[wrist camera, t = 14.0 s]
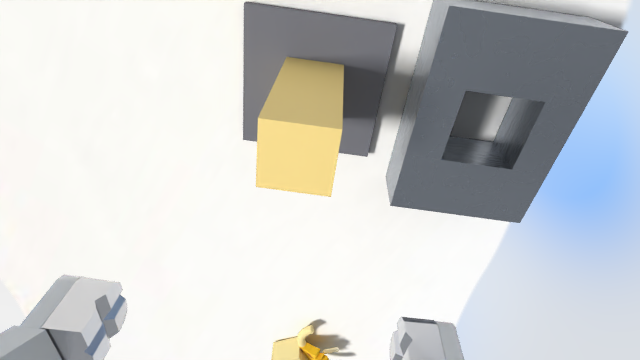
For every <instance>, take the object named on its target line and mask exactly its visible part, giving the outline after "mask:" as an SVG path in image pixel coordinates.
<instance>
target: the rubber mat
mask: <svg viewBox="0 0 640 360" xmlns="http://www.w3.org/2000/svg"><path fill="white" fill-rule="evenodd" d="M396 28H397V24H396V23H390V22H383V21H376V20H369V19H362V18H355V17H348V16H341V15H334V14H327V13H320V12H313V11H306V10H299V9H292V8H285V7H279V6H272V5H265V4H258V3H251V2H245V3H244V97H243V140H249V141H257V132H258V117H259V115H260V112H261V110H262V108H263V106H264V104H265V102H266V100H267V98H268V95H269V93H270V91H271V89H272V87H273V85H274V83H275V81H276V78H277V76H278V74H279V72H280V70H281V68H282V66H283V64H284V61H285V59H286V57H292V58H299V59H306V60H313V61H320V62H327V63H334V64H341V65H344V83H343V126H342V135H341V141H340V146H339V152H338V153H344V154H352V155H359V156H366V157H367V156H368V152H369V147H370V143H371V138H372V134H373V130H374V125H375V121H376V116H377V112H378V108H379V103H380V99H381V94H382V90H383V86H384V81H385V77H386V72H387V68H388V64H389V59H390V55H391V50H392V46H393V42H394V37H395V33H396Z"/></svg>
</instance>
